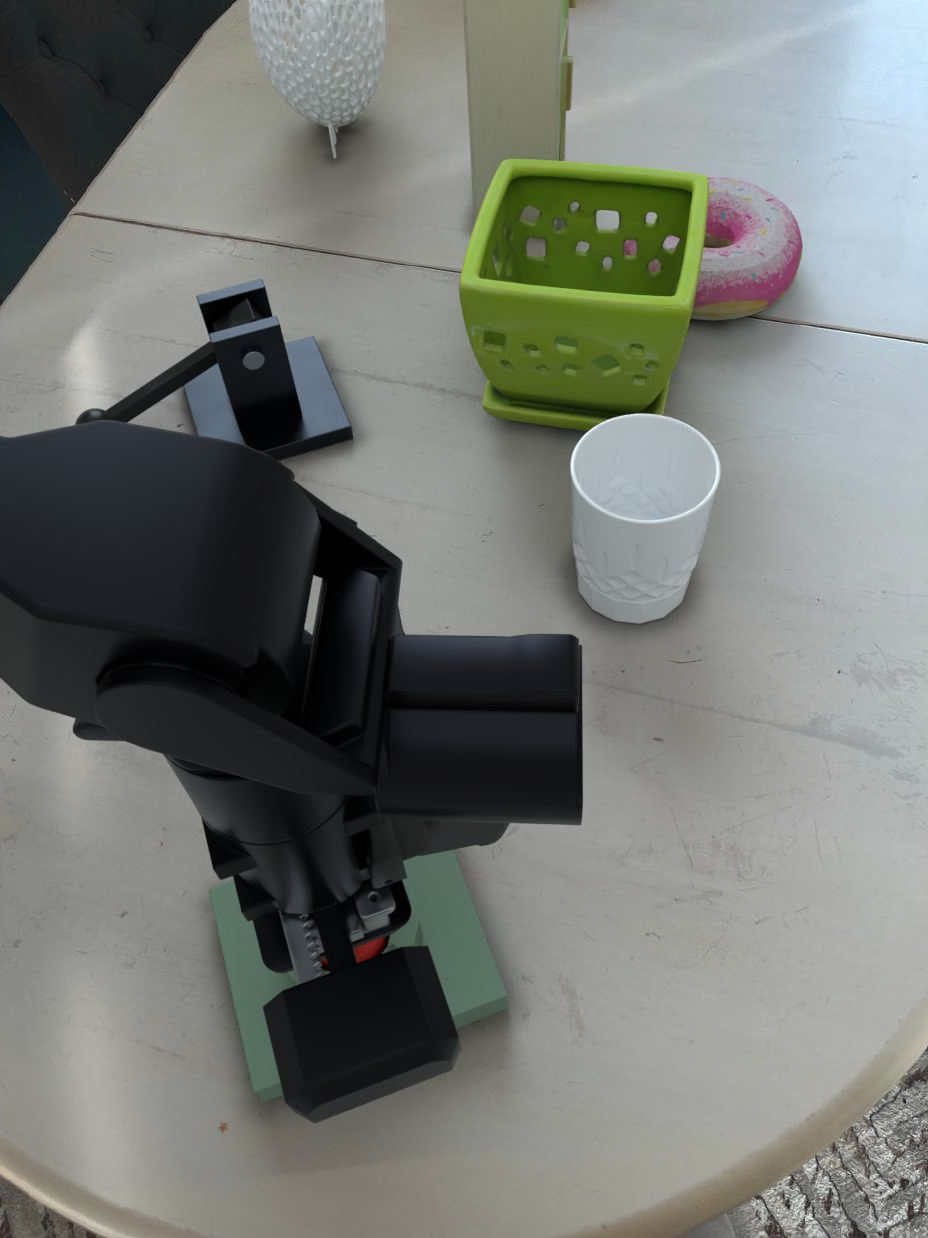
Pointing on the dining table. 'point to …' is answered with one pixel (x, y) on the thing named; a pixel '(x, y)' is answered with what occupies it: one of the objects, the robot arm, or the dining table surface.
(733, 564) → the dining table surface
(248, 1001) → the button housing
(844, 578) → the dining table surface
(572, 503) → the white cup
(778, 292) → the donut
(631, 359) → the flower pot
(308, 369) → the lever base
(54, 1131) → the dining table surface
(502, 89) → the toy refrigerator
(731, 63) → the dining table surface
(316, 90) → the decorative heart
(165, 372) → the lever with ball knob
